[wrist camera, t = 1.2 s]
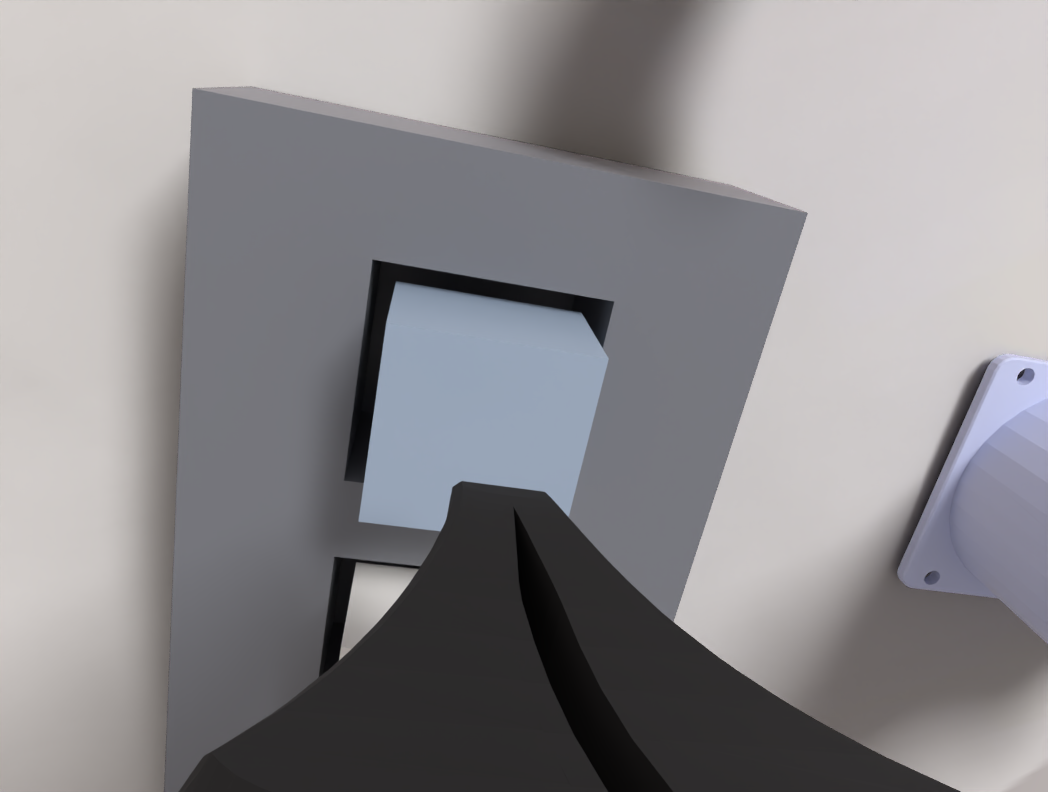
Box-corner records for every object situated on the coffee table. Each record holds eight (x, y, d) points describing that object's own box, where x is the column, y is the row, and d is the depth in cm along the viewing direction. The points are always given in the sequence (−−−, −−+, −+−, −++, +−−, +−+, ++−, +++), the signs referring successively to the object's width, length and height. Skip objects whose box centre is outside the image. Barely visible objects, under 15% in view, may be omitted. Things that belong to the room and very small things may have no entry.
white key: (518, 579, 19) (531, 664, 16) (489, 704, 21) (497, 800, 18) (356, 562, 18) (340, 647, 16) (337, 691, 20) (320, 789, 17)
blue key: (581, 312, 17) (609, 358, 14) (543, 474, 18) (561, 545, 15) (395, 280, 16) (385, 322, 13) (371, 451, 17) (358, 521, 15)
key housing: (731, 184, 20) (807, 213, 16) (541, 842, 28) (557, 972, 24) (251, 86, 18) (192, 88, 14) (202, 824, 26) (157, 963, 22)
